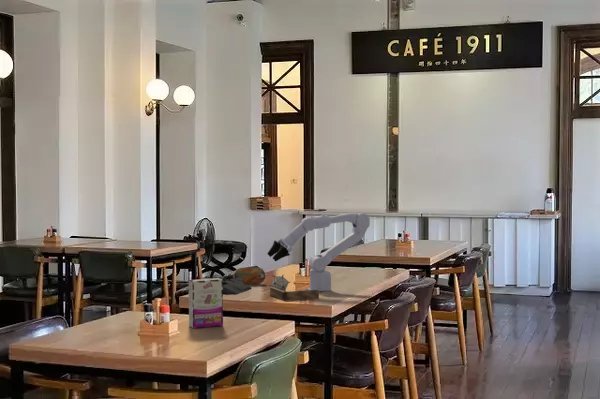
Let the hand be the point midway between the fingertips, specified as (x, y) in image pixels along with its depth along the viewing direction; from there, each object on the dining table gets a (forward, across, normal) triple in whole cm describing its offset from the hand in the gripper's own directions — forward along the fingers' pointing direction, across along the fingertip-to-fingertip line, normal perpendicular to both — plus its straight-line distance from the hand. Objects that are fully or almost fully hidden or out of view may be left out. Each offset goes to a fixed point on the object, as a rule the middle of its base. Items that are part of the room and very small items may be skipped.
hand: (271, 257), depth 352 cm
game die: (+8, +7, +12) cm, 17 cm away
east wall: (+10, +21, +7) cm, 25 cm away
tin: (+15, -22, +13) cm, 30 cm away
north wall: (+4, +27, +11) cm, 30 cm away
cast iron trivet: (+24, -5, +1) cm, 25 cm away
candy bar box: (+37, +73, -30) cm, 87 cm away
